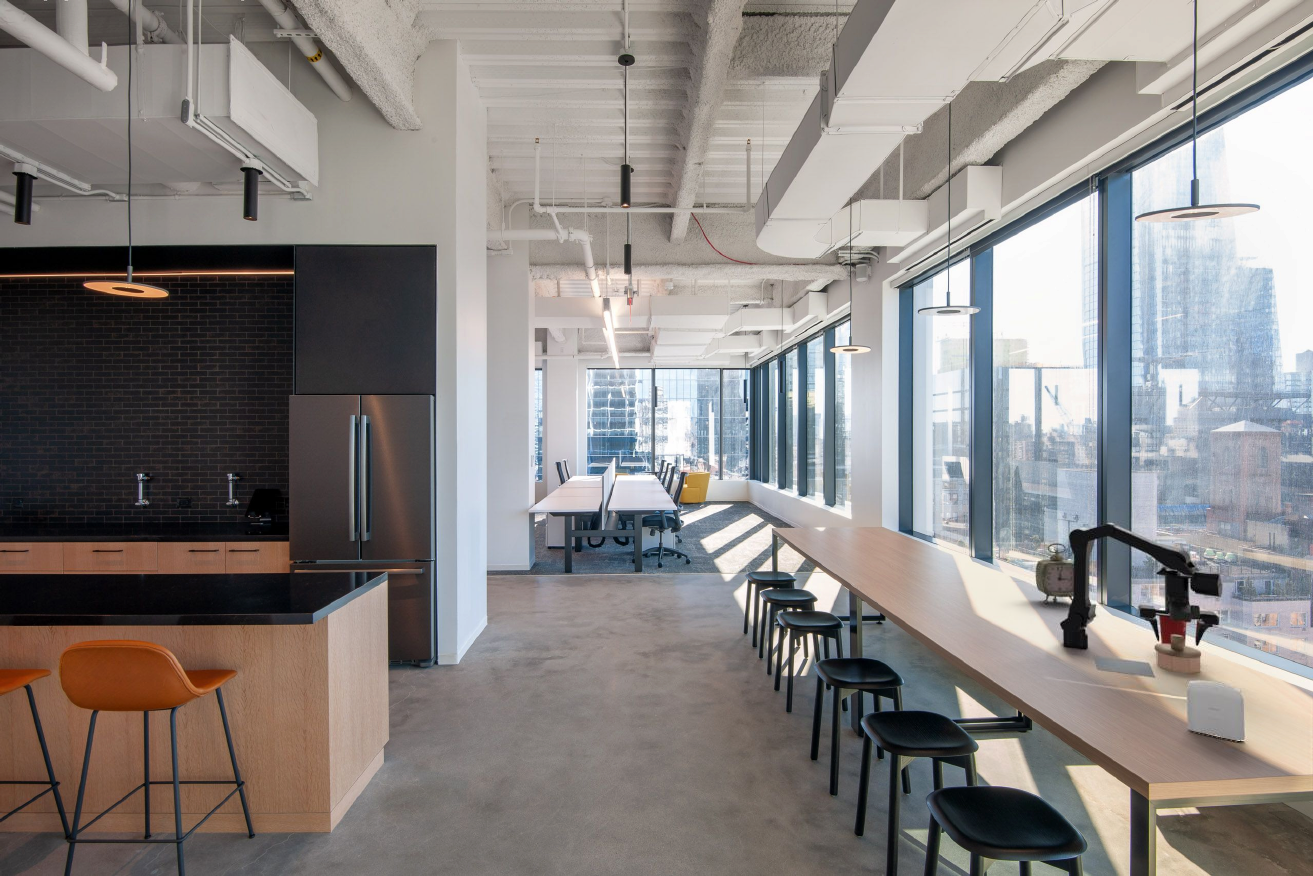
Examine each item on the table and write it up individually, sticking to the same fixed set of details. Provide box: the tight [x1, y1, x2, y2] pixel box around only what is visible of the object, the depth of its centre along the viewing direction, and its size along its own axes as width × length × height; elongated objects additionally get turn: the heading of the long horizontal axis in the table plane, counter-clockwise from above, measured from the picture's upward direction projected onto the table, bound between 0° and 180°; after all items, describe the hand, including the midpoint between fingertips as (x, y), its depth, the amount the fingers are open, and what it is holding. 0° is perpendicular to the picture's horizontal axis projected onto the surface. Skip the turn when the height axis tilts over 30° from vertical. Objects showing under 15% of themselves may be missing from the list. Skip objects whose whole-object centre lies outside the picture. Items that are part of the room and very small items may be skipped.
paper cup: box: [1158, 607, 1188, 646], centre depth 213 cm, size 8×8×14 cm
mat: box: [1094, 655, 1156, 678], centre depth 200 cm, size 14×14×1 cm
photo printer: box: [1186, 680, 1246, 741], centre depth 155 cm, size 10×4×12 cm, turn 47°
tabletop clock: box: [1035, 542, 1074, 604], centre depth 279 cm, size 14×9×25 cm, turn 81°
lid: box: [1154, 635, 1202, 658], centre depth 199 cm, size 11×11×5 cm
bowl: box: [1155, 650, 1201, 674], centre depth 199 cm, size 10×10×5 cm
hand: (1177, 643), depth 199 cm, fingers open, 9 cm apart
